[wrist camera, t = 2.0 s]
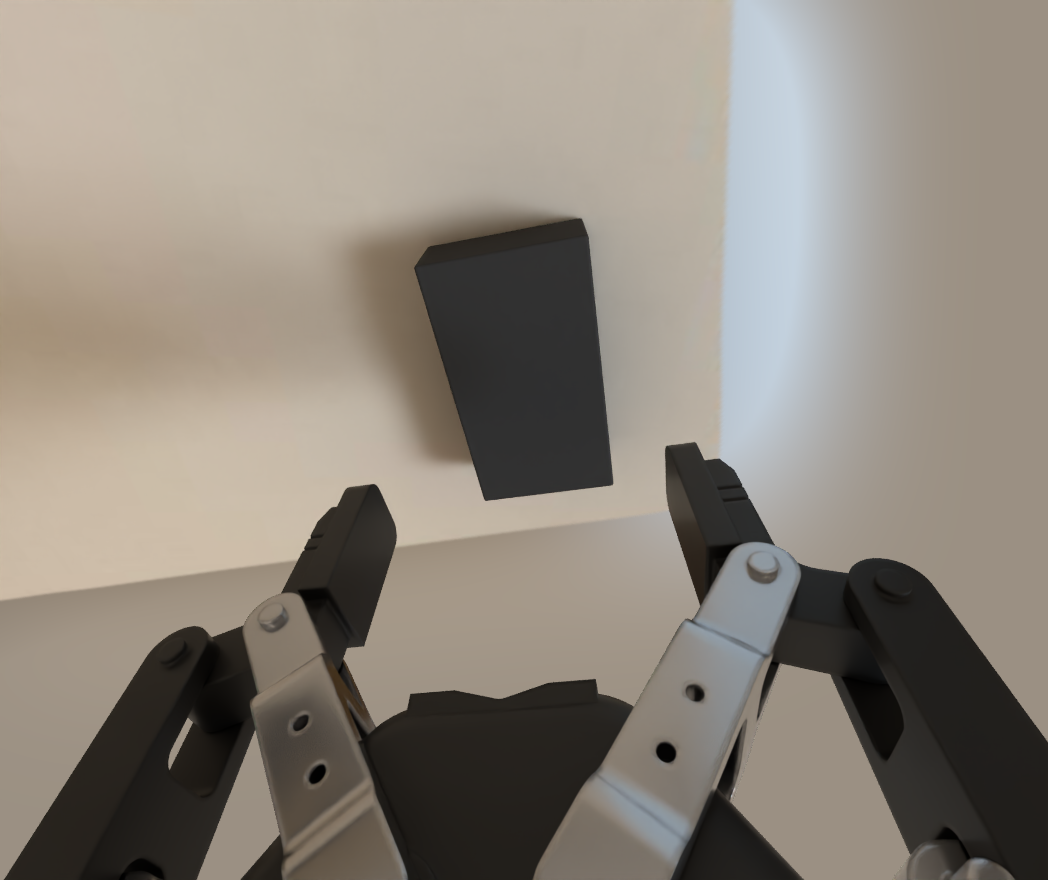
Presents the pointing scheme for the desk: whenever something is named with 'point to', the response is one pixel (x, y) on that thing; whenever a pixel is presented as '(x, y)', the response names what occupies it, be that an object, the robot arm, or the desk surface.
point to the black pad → (522, 356)
